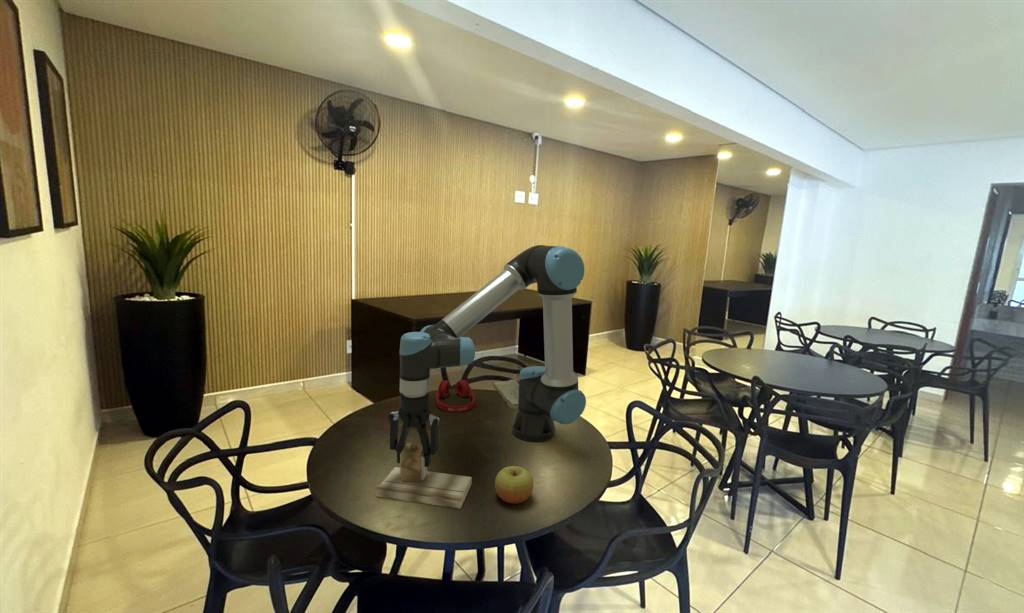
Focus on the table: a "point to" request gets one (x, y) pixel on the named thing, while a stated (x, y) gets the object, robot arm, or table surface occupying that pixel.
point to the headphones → (462, 391)
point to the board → (427, 489)
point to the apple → (514, 484)
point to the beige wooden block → (411, 462)
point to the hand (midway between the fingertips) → (413, 475)
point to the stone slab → (508, 392)
